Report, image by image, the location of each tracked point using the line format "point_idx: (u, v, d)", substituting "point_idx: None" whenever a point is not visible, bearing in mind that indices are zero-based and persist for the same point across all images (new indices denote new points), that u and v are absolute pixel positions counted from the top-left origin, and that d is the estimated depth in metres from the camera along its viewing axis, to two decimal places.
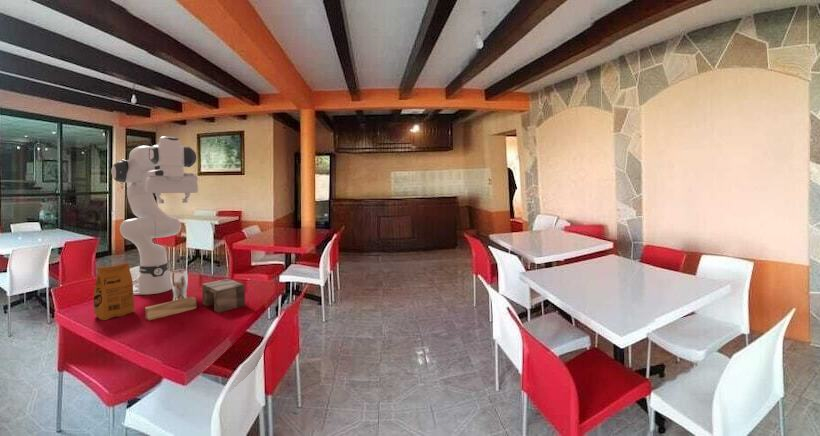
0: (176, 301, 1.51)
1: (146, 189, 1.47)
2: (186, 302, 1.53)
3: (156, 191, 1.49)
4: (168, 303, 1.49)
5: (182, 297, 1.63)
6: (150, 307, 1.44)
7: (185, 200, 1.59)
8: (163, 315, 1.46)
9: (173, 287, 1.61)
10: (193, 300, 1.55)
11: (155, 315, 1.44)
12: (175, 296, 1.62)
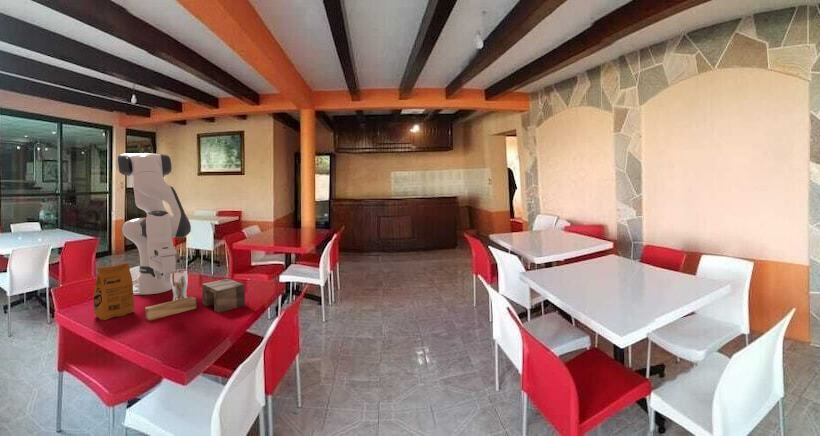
0: (176, 301, 1.51)
1: (171, 270, 1.40)
2: (186, 302, 1.53)
3: None
4: (168, 303, 1.49)
5: (182, 297, 1.63)
6: (150, 307, 1.43)
7: None
8: (163, 315, 1.46)
9: (173, 287, 1.61)
10: (193, 300, 1.55)
11: (155, 315, 1.44)
12: (175, 296, 1.62)
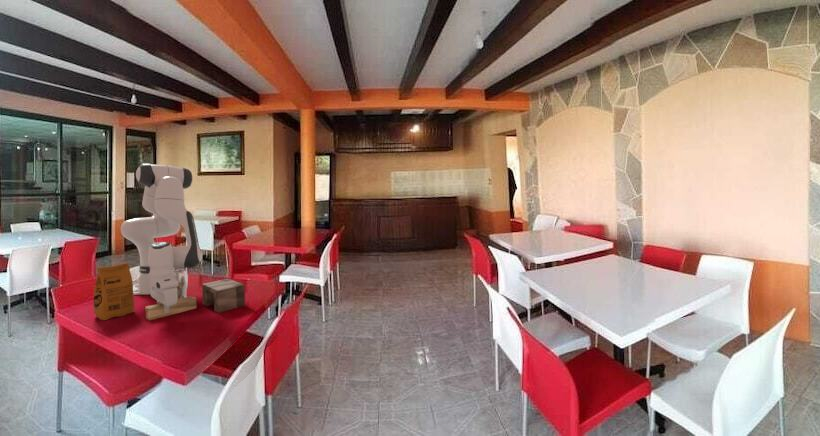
0: None
1: (173, 302, 1.41)
2: (186, 301, 1.53)
3: None
4: None
5: (182, 297, 1.63)
6: (150, 306, 1.44)
7: None
8: (163, 314, 1.46)
9: None
10: (193, 299, 1.55)
11: (155, 314, 1.44)
12: None
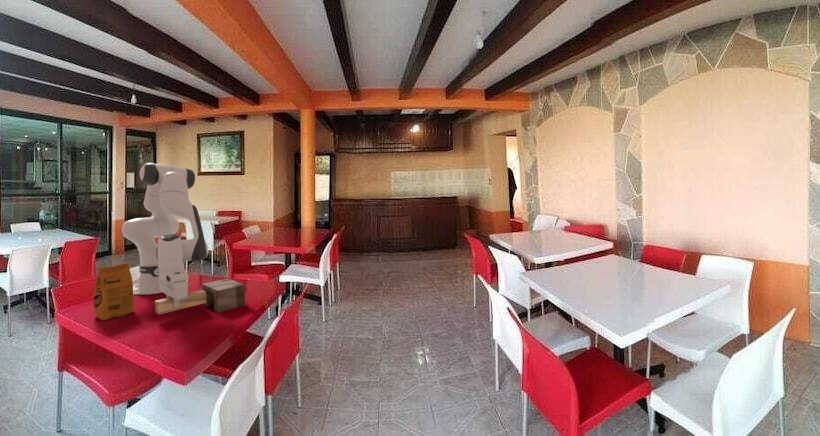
0: None
1: (183, 295, 1.38)
2: (196, 295, 1.49)
3: None
4: None
5: None
6: (160, 300, 1.40)
7: None
8: (173, 309, 1.42)
9: None
10: (203, 293, 1.51)
11: (165, 308, 1.40)
12: None
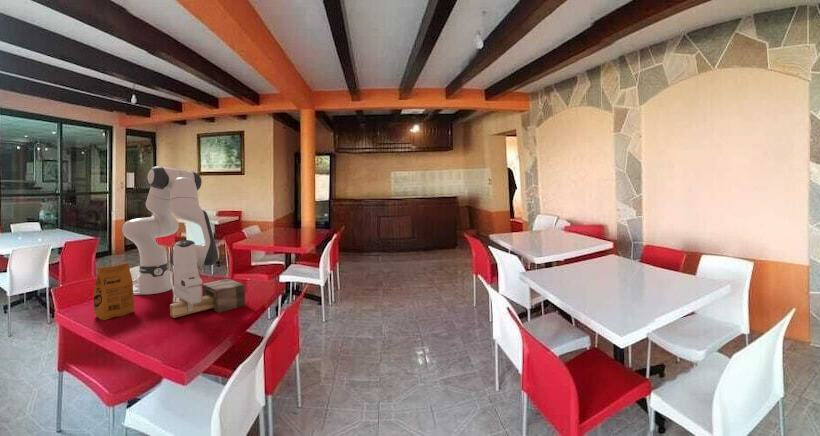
0: None
1: (197, 300, 1.42)
2: (209, 299, 1.54)
3: None
4: None
5: None
6: (175, 304, 1.45)
7: None
8: (187, 312, 1.47)
9: (173, 287, 1.61)
10: None
11: (180, 312, 1.45)
12: (175, 296, 1.62)
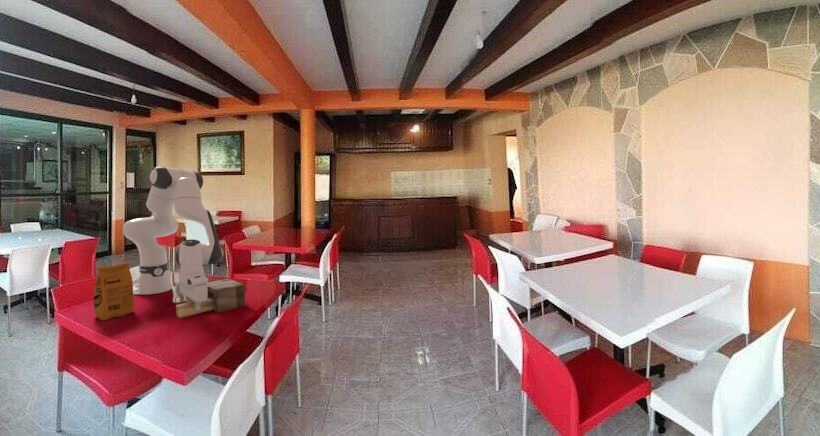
0: None
1: (203, 298, 1.44)
2: None
3: None
4: None
5: (182, 297, 1.63)
6: (181, 305, 1.47)
7: None
8: (193, 313, 1.49)
9: (173, 287, 1.61)
10: None
11: (186, 313, 1.47)
12: (175, 296, 1.62)
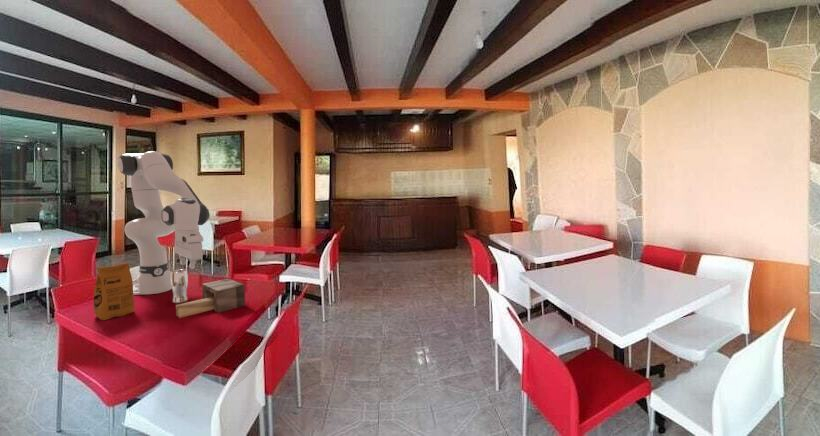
0: (205, 299, 1.54)
1: (198, 256, 1.44)
2: None
3: None
4: (197, 301, 1.52)
5: (182, 297, 1.63)
6: (180, 305, 1.47)
7: None
8: (193, 313, 1.49)
9: (173, 287, 1.61)
10: None
11: (185, 313, 1.47)
12: (175, 296, 1.62)
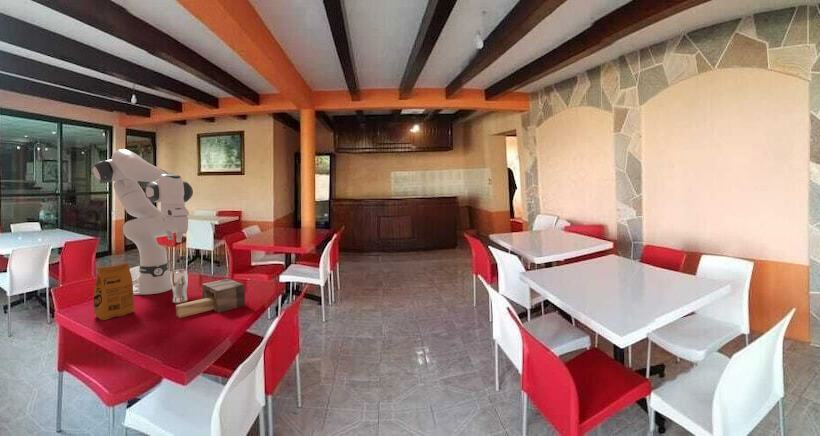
0: (205, 299, 1.54)
1: (184, 229, 1.47)
2: None
3: None
4: (197, 301, 1.52)
5: (182, 297, 1.63)
6: (180, 305, 1.47)
7: None
8: (193, 313, 1.49)
9: (173, 287, 1.61)
10: None
11: (185, 313, 1.47)
12: (175, 296, 1.62)
